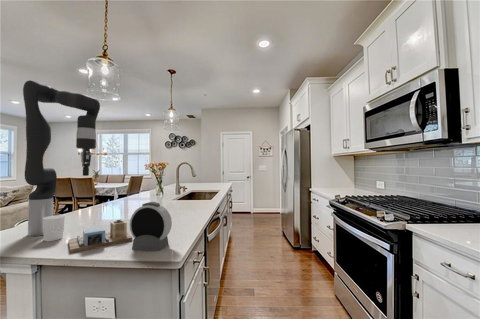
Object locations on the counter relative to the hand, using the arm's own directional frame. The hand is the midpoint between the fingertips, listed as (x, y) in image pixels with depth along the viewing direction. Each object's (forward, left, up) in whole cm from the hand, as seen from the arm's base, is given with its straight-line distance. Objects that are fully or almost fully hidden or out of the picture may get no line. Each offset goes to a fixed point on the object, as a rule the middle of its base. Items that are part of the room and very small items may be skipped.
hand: (85, 175), depth 103 cm
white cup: (-9, -11, -29) cm, 32 cm away
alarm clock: (+30, +20, -29) cm, 46 cm away
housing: (+14, +2, -27) cm, 31 cm away
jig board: (+10, +5, -29) cm, 31 cm away
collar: (+10, +12, -28) cm, 32 cm away
